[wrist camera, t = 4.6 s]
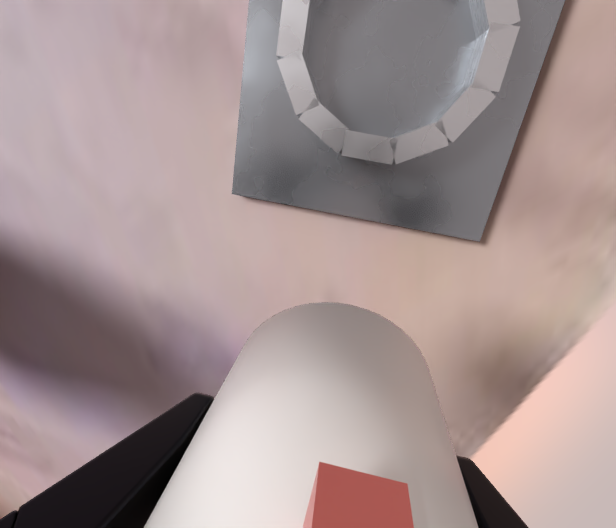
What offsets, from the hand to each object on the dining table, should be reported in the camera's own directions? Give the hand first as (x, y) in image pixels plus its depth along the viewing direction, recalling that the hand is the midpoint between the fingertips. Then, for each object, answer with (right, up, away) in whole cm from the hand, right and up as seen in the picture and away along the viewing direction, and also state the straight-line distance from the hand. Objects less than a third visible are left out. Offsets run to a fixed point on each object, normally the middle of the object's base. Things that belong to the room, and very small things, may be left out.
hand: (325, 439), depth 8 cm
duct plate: (+3, +13, +7) cm, 15 cm away
